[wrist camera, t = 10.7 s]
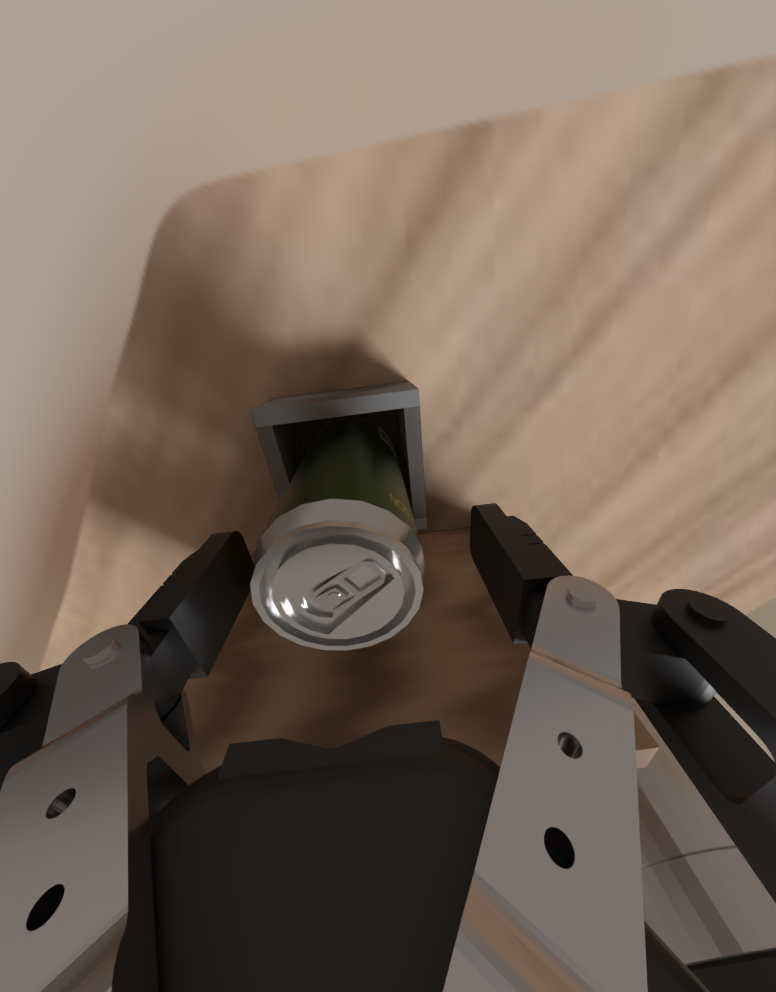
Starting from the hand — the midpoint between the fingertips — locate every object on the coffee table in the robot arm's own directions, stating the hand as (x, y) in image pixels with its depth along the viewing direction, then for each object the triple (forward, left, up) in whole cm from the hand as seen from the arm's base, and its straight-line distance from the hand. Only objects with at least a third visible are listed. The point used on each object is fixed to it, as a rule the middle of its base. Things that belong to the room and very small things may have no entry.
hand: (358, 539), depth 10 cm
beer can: (0, +1, -10) cm, 10 cm away
